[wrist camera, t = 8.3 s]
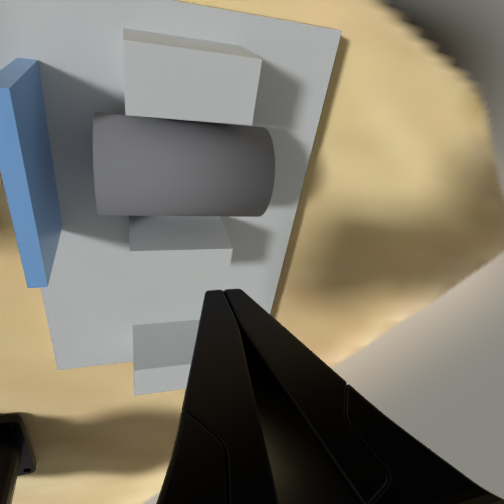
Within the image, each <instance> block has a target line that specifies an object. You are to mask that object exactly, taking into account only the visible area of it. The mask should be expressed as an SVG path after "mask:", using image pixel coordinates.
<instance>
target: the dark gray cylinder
mask: <svg viewBox="0 0 504 504" xmlns="http://www.w3.org/2000/svg"><path fill="white" fill-rule="evenodd" d="M93 170H94V186H95V198H96V206H97V212H98V215H121V216H232V217H260V216H262V215H263V214H264V213H265V211H266V210H267V208H268V206H269V203H270V200H271V197H272V192H273V187H274V179H275V153H274V146H273V141H272V138H271V135H270V133H269V131H268V130H267V129H266V128H264V127H255V126H244V125H233V124H222V123H211V122H199V121H188V120H177V119H166V118H154V117H142V116H130V115H121V114H110V113H99V112H95V113H94V118H93Z"/></svg>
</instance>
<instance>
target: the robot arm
mask: <svg viewBox="0 0 504 504" xmlns="http://www.w3.org/2000/svg"><path fill="white" fill-rule="evenodd" d="M35 469H36V460H35V457H34V454H33V451H32V448H31V445H30V442H29V439H28V436H27V433H26V430H25V427H24V424H23V421H22V418H21V417H19V416H15V415H14V416H5V417H0V504H12V499H13V494H14V489H15V485H16V480H17V476H20V475H25V474H30V473H32V472H34V471H35ZM156 504H504V499H502V498H500V497H498V496H496V495H494V494H492V493H490V492H489V491H487V490H485V489H484V488H482V487H481V486H479V485H478V484H476V483H475V482H473V481H472V480H470V479H469V478H468V477H466V476H465V475H464V474H462V473H461V472H460V471H458V470H457V469H456V468H454V467H453V466H451V465H450V464H449V463H448V462H446V461H445V460H443V459H442V458H440V457H439V456H438V455H437V454H435V453H434V452H432V451H431V450H430V449H429V448H427V447H426V446H425V445H423V444H422V443H420V442H419V441H418V440H417V439H415V438H414V437H413V436H411V435H410V434H409V433H407V432H406V431H405V430H404V429H402V428H401V427H400V426H398V425H397V424H396V423H394V422H393V421H392V420H391V419H389V418H388V417H387V416H386V415H384V414H383V413H382V412H381V411H379V410H378V409H377V408H376V407H375V406H374V405H372V404H371V403H370V402H369V401H368V400H366V399H365V398H364V397H363V396H362V395H361V394H360V393H358V392H357V391H356V390H355V389H354V388H353V387H351V386H350V385H347V384H346V381H345V380H343V379H342V378H341V377H340V376H339V375H338V374H337V373H336V372H334V371H333V370H332V369H331V368H330V367H329V366H328V365H327V364H325V363H324V362H323V361H322V360H321V359H320V358H319V357H317V356H316V355H315V354H314V353H313V352H312V351H311V350H310V349H308V348H307V347H306V346H305V345H304V344H303V343H302V342H301V341H299V340H298V339H297V338H296V337H295V336H294V335H293V334H291V333H290V332H289V331H288V330H287V329H286V328H285V327H284V326H282V325H281V324H280V323H279V322H278V321H277V320H276V319H275V318H273V317H272V316H271V315H270V314H269V313H268V312H267V311H265V310H264V309H263V308H262V307H261V306H260V305H259V304H258V303H256V302H255V301H254V300H253V299H252V298H251V297H250V296H249V295H247V294H246V293H245V292H244V291H243V290H241V289H225V290H224V291H222V290H208V291H206V292H205V295H204V300H203V305H202V310H201V315H200V320H199V325H198V331H197V336H196V341H195V346H194V351H193V356H192V361H191V366H190V371H189V376H188V381H187V386H186V391H185V396H184V401H183V406H182V412H181V415H180V420H179V425H178V430H177V435H176V439H175V443H174V447H173V452H172V456H171V460H170V463H169V466H168V469H167V472H166V476H165V479H164V482H163V485H162V489H161V492H160V494H159V497H158V501H157V503H156Z"/></svg>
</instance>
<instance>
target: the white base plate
mask: <svg viewBox="0 0 504 504" xmlns="http://www.w3.org/2000/svg"><path fill="white" fill-rule="evenodd" d="M341 32H342V31H341V30H337V29H333V28H328V27H322V26H317V25H311V24H306V23H300V22H295V21H289V20H283V19H278V18H272V17H267V16H261V15H256V14H250V13H245V12H239V11H233V10H228V9H222V8H217V7H211V6H206V5H200V4H194V3H189V2H183V1H178V0H0V172H1V176H2V180H3V184H4V189H5V193H6V197H7V201H8V206H9V210H10V214H11V219H12V223H13V227H14V231H15V236H16V240H17V244H18V248H19V253H20V257H21V261H22V266H23V270H24V274H25V278H26V283H27V287H28V288H38V287H40V288H41V292H42V297H43V302H44V307H45V312H46V316H47V321H48V326H49V331H50V335H51V340H52V345H53V350H54V355H55V359H56V364H57V369H58V370H63V369H71V368H80V367H89V366H98V365H106V364H115V363H124V362H133V366H134V396H137V395H144V394H151V393H158V392H165V391H172V390H179V389H186V386H187V381H188V376H189V371H190V366H191V361H192V356H193V351H194V346H195V341H196V336H197V331H198V325H199V320H200V315H201V310H202V305H203V300H204V295H205V292H206V291H208V290H222V291H224V290H225V289H241V290H243V291H244V292H245V293H246V294H247V295H249V296H250V297H251V298H252V299H253V300H254V301H255V302H256V303H258V304H259V305H260V306H261V307H262V308H263V309H264V310H265V311H267V312H268V313H269V314H270V313H271V309H272V305H273V301H274V297H275V293H276V289H277V285H278V281H279V277H280V273H281V269H282V265H283V261H284V257H285V253H286V249H287V246H288V242H289V238H290V234H291V230H292V226H293V222H294V218H295V214H296V210H297V206H298V202H299V198H300V194H301V190H302V186H303V182H304V178H305V174H306V171H307V167H308V163H309V159H310V155H311V151H312V147H313V143H314V139H315V135H316V131H317V127H318V123H319V119H320V115H321V111H322V107H323V103H324V99H325V95H326V92H327V88H328V84H329V80H330V76H331V72H332V68H333V64H334V60H335V56H336V52H337V48H338V44H339V40H340V36H341ZM95 112H99V113H110V114H121V115H130V116H142V117H154V118H166V119H177V120H188V121H199V122H211V123H222V124H233V125H244V126H255V127H264V128H266V129H267V130H268V131H269V133H270V135H271V138H272V141H273V146H274V153H275V179H274V187H273V192H272V197H271V200H270V203H269V206H268V208H267V210H266V211H265V213H264V214H263V215H262V216H260V217H232V216H121V215H98V212H97V206H96V198H95V186H94V170H93V118H94V113H95Z"/></svg>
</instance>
